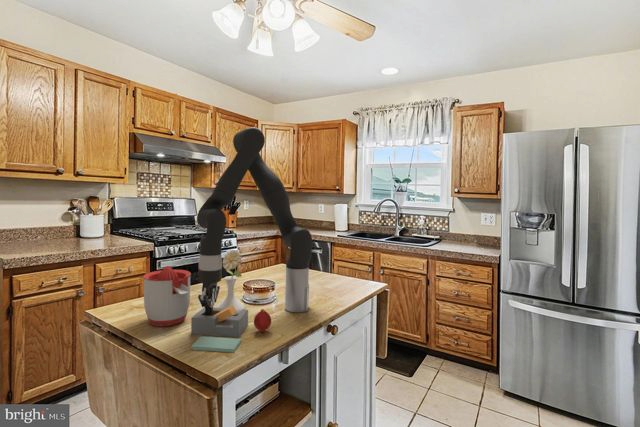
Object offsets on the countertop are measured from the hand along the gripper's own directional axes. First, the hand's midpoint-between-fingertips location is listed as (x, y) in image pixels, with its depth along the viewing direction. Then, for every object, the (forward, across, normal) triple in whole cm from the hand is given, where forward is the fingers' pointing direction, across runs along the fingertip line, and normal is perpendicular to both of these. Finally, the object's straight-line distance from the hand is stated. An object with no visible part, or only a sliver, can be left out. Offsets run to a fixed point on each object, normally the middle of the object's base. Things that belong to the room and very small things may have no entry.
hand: (208, 317), depth 116 cm
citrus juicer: (+4, +4, +16) cm, 17 cm away
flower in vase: (+4, +15, -3) cm, 16 cm away
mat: (+4, -12, -8) cm, 15 cm away
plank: (+1, 0, -5) cm, 5 cm away
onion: (+4, 0, -19) cm, 19 cm away
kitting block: (+4, 0, -5) cm, 6 cm away
